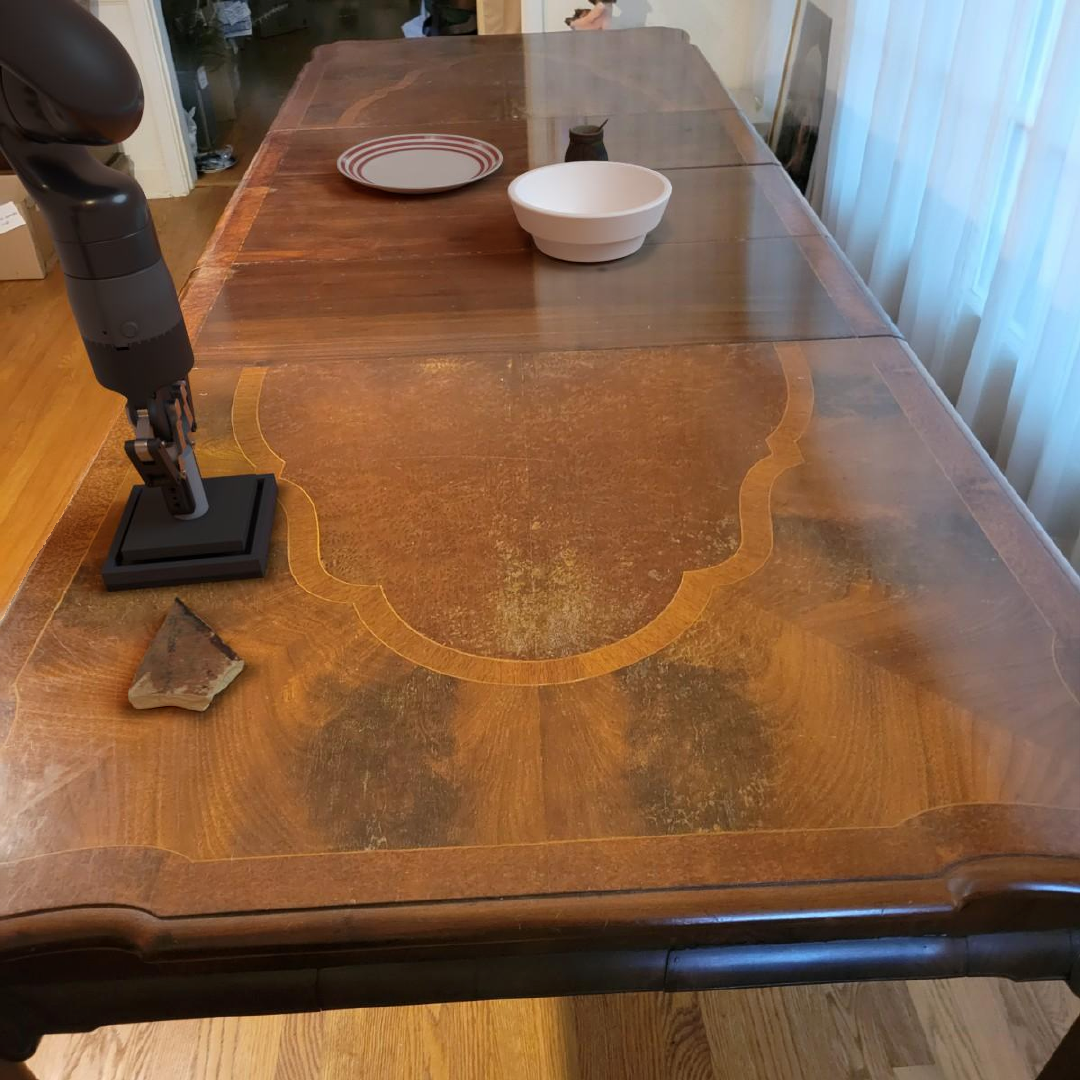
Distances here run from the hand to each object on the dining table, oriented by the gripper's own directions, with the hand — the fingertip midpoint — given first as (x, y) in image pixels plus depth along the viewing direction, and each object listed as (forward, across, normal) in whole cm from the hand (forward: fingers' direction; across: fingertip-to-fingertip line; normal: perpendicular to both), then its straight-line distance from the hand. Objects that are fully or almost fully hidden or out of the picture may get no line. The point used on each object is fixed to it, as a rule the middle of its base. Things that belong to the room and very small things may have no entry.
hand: (186, 499), depth 85 cm
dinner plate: (+5, -96, +22) cm, 99 cm away
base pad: (+4, 0, 0) cm, 4 cm away
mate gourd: (+5, -89, +49) cm, 102 cm away
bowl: (+5, -61, +45) cm, 76 cm away
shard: (+4, +17, +1) cm, 17 cm away
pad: (+2, 0, 0) cm, 2 cm away
